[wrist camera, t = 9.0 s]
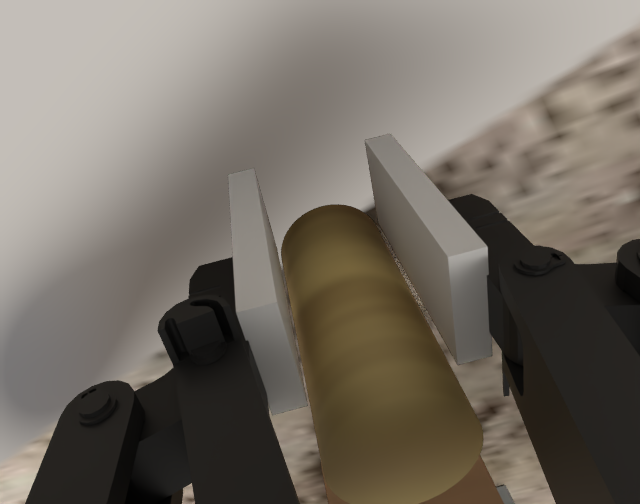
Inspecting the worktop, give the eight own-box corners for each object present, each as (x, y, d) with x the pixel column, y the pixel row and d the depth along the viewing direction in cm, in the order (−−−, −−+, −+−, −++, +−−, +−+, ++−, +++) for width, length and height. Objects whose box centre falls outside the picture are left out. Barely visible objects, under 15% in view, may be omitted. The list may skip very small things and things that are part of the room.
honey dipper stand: (478, 501, 26) (571, 708, 19) (354, 541, 26) (404, 762, 19) (413, 176, 17) (548, 350, 10) (223, 237, 17) (228, 452, 10)
